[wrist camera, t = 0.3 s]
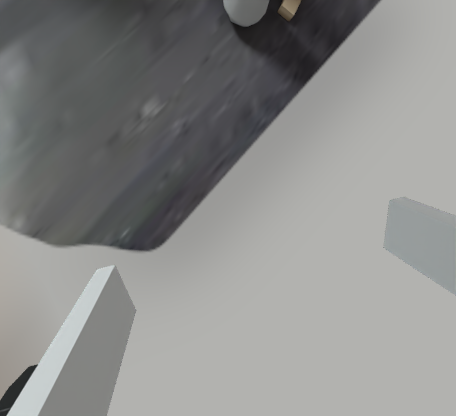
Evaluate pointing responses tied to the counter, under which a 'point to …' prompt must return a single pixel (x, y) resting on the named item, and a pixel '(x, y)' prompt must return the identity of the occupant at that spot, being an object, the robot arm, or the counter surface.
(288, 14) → the oak holder
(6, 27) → the counter surface
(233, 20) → the salt shaker
